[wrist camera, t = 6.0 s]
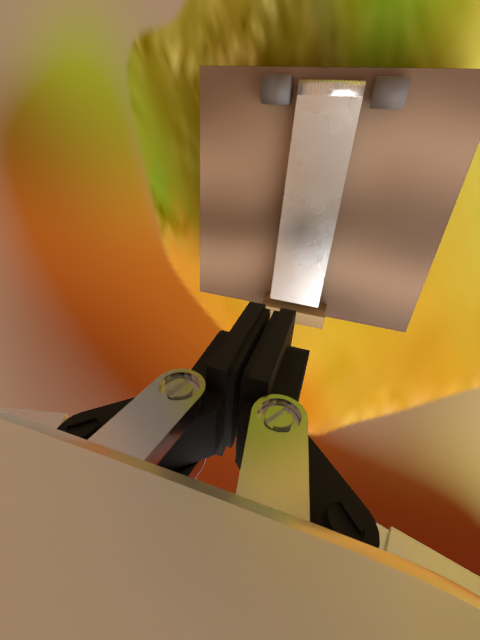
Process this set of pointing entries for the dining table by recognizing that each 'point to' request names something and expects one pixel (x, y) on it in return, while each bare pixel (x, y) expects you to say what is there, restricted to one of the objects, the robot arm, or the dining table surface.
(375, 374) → the dining table surface
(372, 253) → the walnut box
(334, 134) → the steel strap
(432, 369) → the dining table surface
